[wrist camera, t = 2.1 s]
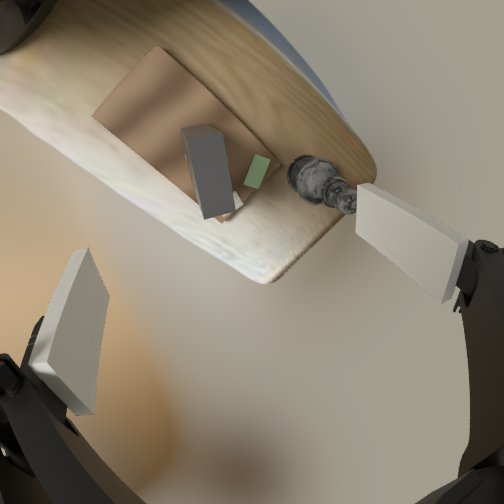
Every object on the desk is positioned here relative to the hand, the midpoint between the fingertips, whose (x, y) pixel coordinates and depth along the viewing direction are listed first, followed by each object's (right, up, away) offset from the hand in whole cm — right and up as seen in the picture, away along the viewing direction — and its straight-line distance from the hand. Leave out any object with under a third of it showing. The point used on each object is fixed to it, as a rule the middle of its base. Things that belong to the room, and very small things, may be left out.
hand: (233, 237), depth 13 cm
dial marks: (0, +7, +20) cm, 21 cm away
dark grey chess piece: (+8, +10, +23) cm, 26 cm away
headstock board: (-6, +12, +17) cm, 22 cm away
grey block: (-5, +8, +17) cm, 20 cm away
